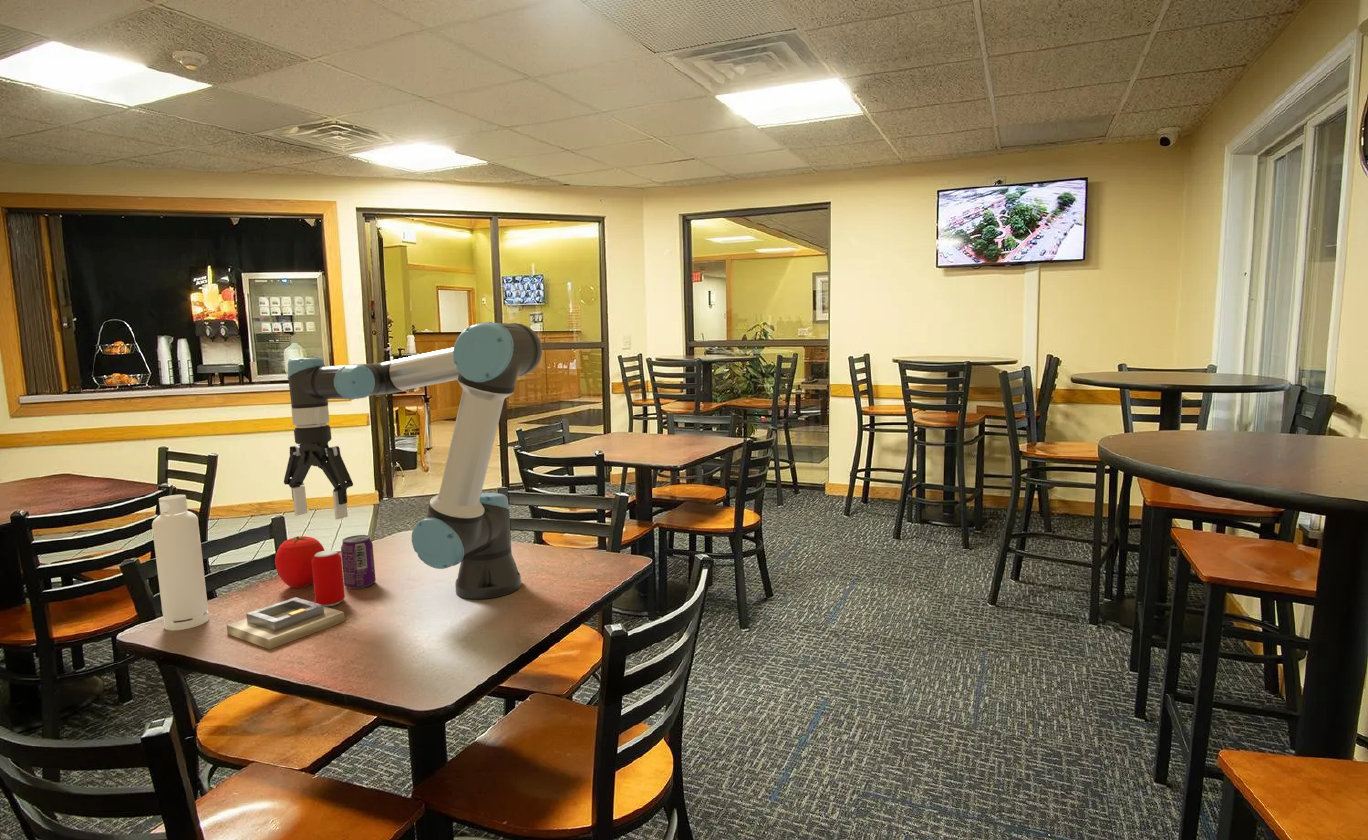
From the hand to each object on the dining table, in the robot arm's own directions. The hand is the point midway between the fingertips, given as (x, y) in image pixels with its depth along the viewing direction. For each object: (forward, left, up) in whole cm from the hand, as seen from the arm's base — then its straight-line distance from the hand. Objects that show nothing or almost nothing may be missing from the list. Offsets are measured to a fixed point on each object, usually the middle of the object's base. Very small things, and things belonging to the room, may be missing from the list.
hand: (321, 516), depth 169 cm
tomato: (+14, -2, -20) cm, 25 cm away
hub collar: (-9, +15, -18) cm, 25 cm away
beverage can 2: (+1, -9, -20) cm, 22 cm away
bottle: (+14, +24, -20) cm, 34 cm away
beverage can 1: (-4, +2, -20) cm, 20 cm away
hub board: (-9, +15, -20) cm, 26 cm away
